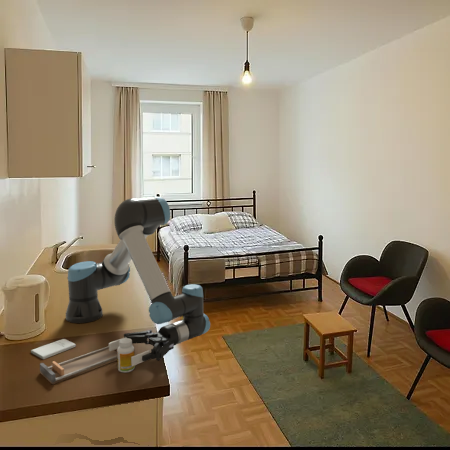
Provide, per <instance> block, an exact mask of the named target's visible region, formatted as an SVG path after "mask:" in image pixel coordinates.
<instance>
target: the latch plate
mask: <svg viewBox="0 0 450 450" xmlns="http://www.w3.org/2000/svg"><path fill="white" fill-rule="evenodd" d="M51 366H52V368H53V369H54V370H55V371H56V372H57V373H58V374H60V375H61V376H63V375H64V368H62V367H61V366H60V365H59V364H58V362H56V360H54V361H52V362H51Z"/></svg>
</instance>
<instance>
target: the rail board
mask: <svg viewBox="0 0 450 450" xmlns="http://www.w3.org/2000/svg"><path fill="white" fill-rule="evenodd" d="M116 361H118V357H117V351H115V350H113V351H109V345H108V346H106V347H102V348H100V349H96V350H94V351H93V350H92V351H91V352H88V353H86V354H85V353H84V354H82V355H80V356H79V355H78V356H76V357H74V358H73V357H72V358H70V359H68V360H64V361H62V362H59V363H58V362H57V363H58V364H59V365H60V366H61V367H62V368H64V375H63V376H61V375H60V374H58V373H57V372H56V371H55V370H54V369H53V368H52V365H50V366H48V365H46V364H45V363H44V362H40V363H39V373H40V374H41V375H42V376H43V377H44V378H45V379H46V380H47V381H48V382H49V383H50V384H51V385H55V384H58V383H60V382H63V381H66V380H68V378H69V379H72V378H74V377H78V376H79V375H82V374H84V373H87V372H90V371H92V370H95V369H97V368H101V367H103V366H106V365H108V364H112V363H114V362H116Z"/></svg>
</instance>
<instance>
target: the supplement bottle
mask: <svg viewBox="0 0 450 450" xmlns="http://www.w3.org/2000/svg"><path fill="white" fill-rule="evenodd" d="M123 338H124V337H123ZM120 339H121V340H120V341H119V347H118V349H116V352H117V357H118V360H117V369H118V370H117V371H118V372H120V373H130V372H132V371H134V370H135V369H136V368H135V367H136V365H134V366H132V364H131V357H132V356H135V355H136V354H135V347H134V345H133V344H132V340H131V339H130V338H124V339H122V338H120Z"/></svg>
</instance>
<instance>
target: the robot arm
mask: <svg viewBox="0 0 450 450" xmlns="http://www.w3.org/2000/svg"><path fill="white" fill-rule="evenodd" d="M115 210H116V211H115V213H114V217H113V218H114V228H115V232H116V234H117V237H118V238H119V241H118V243H117V244H116V246H115V247H114V249H113V251H112V253H108V254H106V256H105V257H104V258H103V260H102V261H101V262H96V261H92V260H91V261H90V260H87V261H86V260H85V261H81V262H76V263H74V264H73V265H70V266H69V268H68V269H67V285H68V300H69V301H68V304H67V306H66V307H67V308H66V310H65V320H66V321H67V322H69V323H72V324H86V323H91V322H94V321H97V320H99V319H101V318H102V317H103V313H104V312H103V307H102V304H101V303H100V300H99V298H98V297H99V296H98V291H99V290H103V289H108V288H111V287H114V286H116V287H117V286H120V285H122V284H125V283H126V282H127V281H128V280H129V278H130V274H131V273H130V272H131V267H130V262H131V261H132V263H133V264H134V266H135V269H136V271H137V274H138V275H139V278H140V280H141V283H142V284H143V287H144V289H145V291H146V293H147V295H148V297H149V300H150V302H151V304H150V306H149V308H148V313H149V319H150V320H151V321H152V322H153V323H154V324H156V325H162V324H165V323H169V322H171V321H173V320H175V319H178V318H181V317H183V318H182V319H180V320H177V321H175V322H172V323H169V324H167V325H163V326H162V327H160V328H159V330H158V331H157V332H153V330H152V329H147V330H142V331H135V332H134V331H133V332H128V333H127V332H126V333H124V334H123V337H121V338H119V339H116V340H113V341H111V342H108V346H109V351H113V350H114V351H115V350H117V349H118V347H119V341H120V340H121V339H124V338H130V339H131V340H132V345H133V344H145V345H151V346H152V347H153V348H151V349H148V350H146V351H143V352H140V353H138V354H134V355H135V356H132V357H131V364H132V366H134V365H135V366H137V365H139V364H141V363H143V362H147V361H149V360H155V359H156V361H161V360H162V359H163V357H164V356H166V355H167V354H168V352H170V351H172V350H174V348H175V346H176V345H179V344H181V343H184V342H186V341H189V340H191V339H194V338H197V337H200V336H202V335H205V334H206V333H207V332H208V331H209V330H210V328H211V321H210V319H209V317H208V315H207V314H205V313H204V291H203V287H202V286H201V285H200V284H195V283H193V284H191V283H190V284H186V285H184V286H183V287H182V291H181V292H182V293H181V294H177V295H174V296H173V294H172V291H171V289H170V288H169V285H168V284H167V281H166V279H165V277H164V275H163V273H162V271H161V269H160V266H159V264H158V262H157V259H156V257H155V256H154V253H153V251H152V249H151V247H150V245H149V243H148V241H147V238H148V236H151V235H153V234H155V232H156V231H157V229H158V228H159V227H160V226H164V225H167V224H168V223H169V221H170V219H171V208H170V206H169V204H168V202H167V200H166V199H165V198H163V197H161V196H145V197H137V198H136V197H131V198H126V199H125V200H124V201H121V203H120V204H119V205H118V207H117V208H116V209H115Z"/></svg>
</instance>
